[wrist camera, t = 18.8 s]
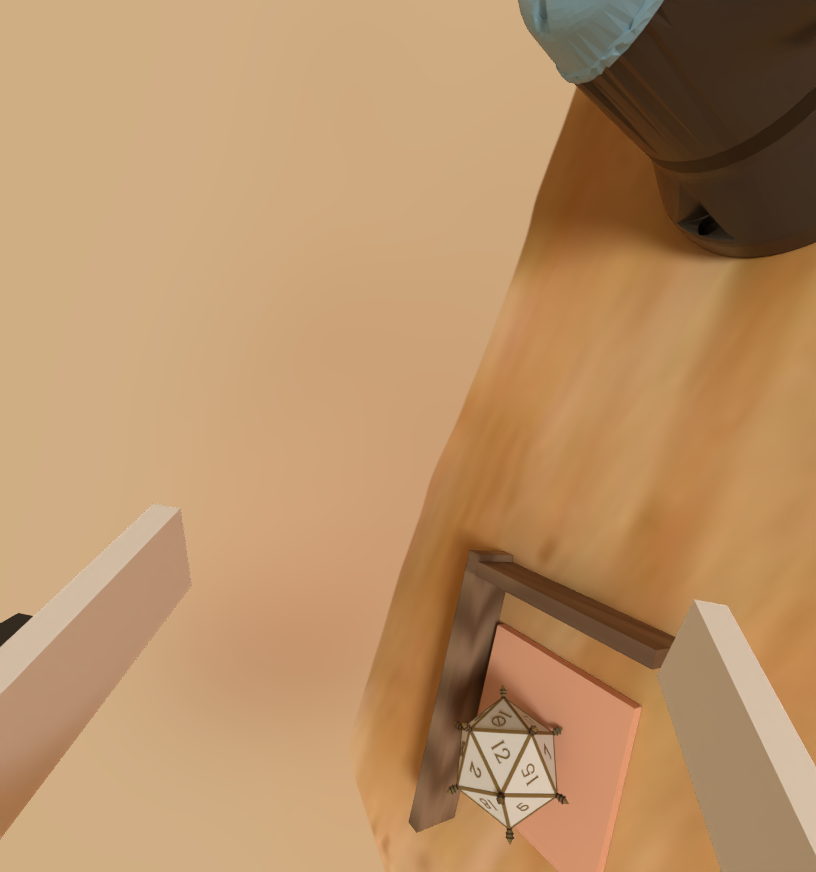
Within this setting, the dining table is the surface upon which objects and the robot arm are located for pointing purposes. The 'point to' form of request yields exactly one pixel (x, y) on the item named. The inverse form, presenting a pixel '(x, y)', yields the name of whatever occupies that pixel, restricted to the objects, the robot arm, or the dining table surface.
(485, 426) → the dining table surface
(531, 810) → the game die
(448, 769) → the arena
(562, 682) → the mat
